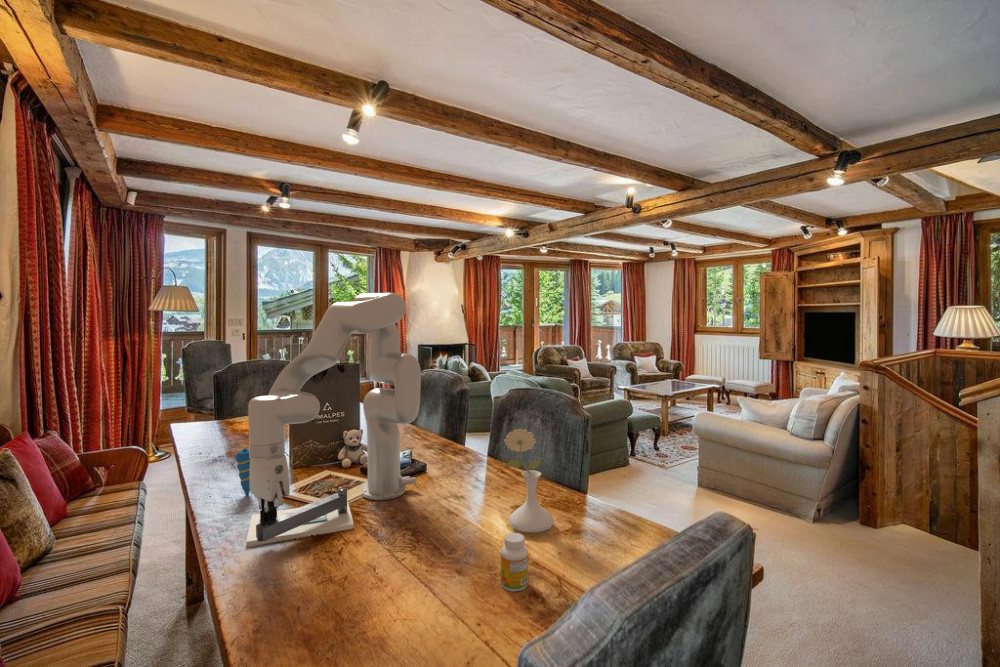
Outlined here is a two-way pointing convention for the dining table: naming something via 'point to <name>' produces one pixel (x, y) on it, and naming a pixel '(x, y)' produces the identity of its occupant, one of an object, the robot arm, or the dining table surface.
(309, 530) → the label board
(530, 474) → the flower in vase
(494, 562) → the dining table surface
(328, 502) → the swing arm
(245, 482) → the ornament
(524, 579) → the supplement bottle
